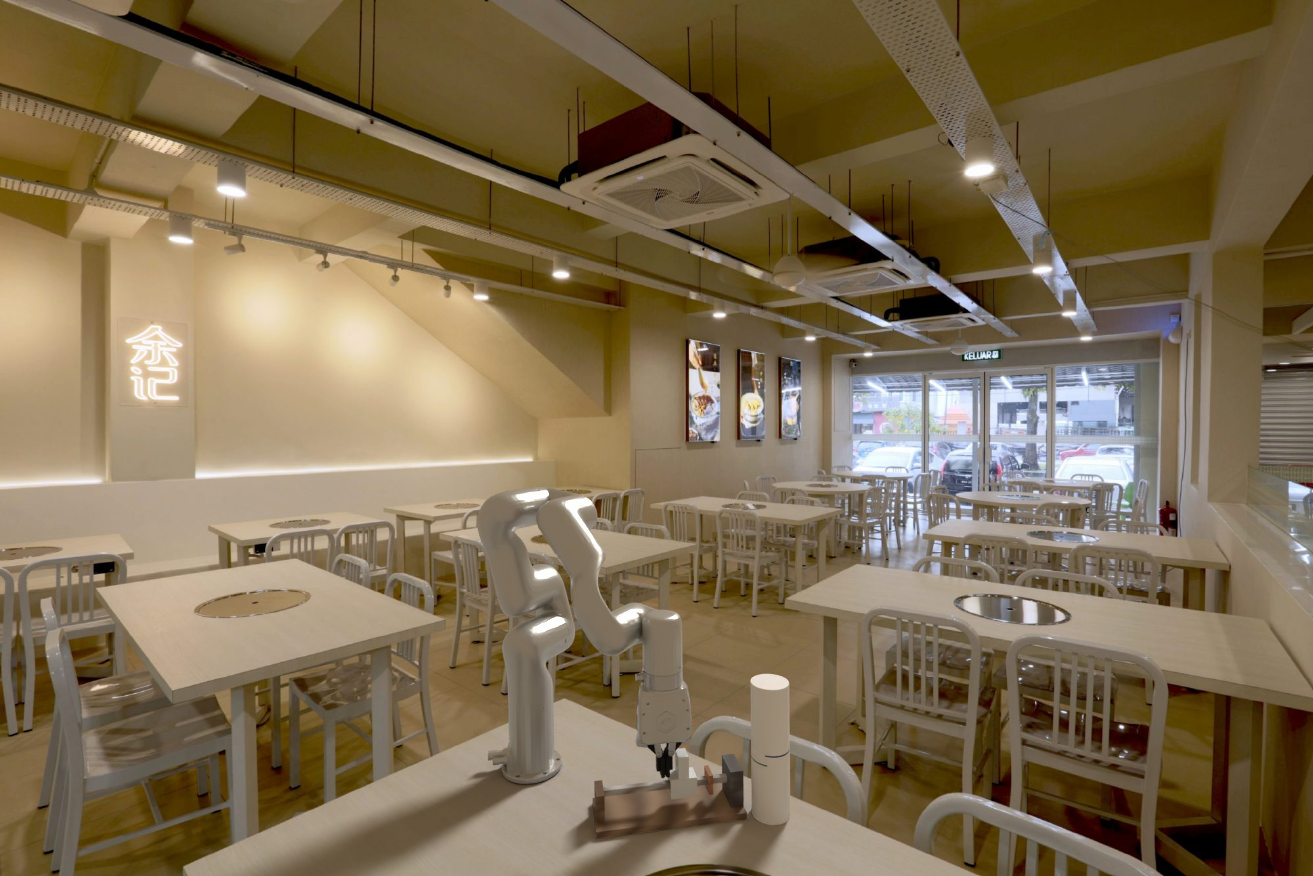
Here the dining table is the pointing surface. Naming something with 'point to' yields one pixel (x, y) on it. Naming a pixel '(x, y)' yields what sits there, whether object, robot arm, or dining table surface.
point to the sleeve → (682, 777)
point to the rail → (670, 803)
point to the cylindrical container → (770, 749)
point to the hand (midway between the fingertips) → (664, 773)
